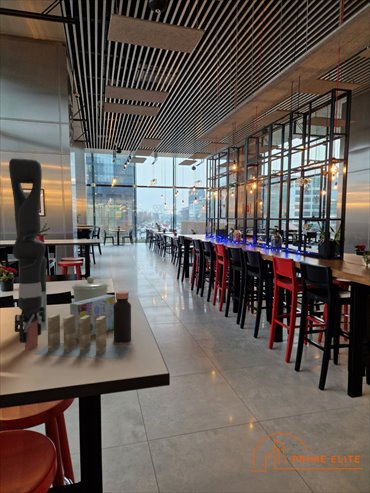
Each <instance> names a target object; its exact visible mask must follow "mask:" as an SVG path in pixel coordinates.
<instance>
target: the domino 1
mask: <svg viewBox="0 0 370 493" xmlns="http://www.w3.org/2000/svg"><path fill="white" fill-rule="evenodd" d="M24 323H25V322H24ZM24 327H25V326H23V328H24ZM26 332H27V342H26V343H24V350H25V351H30V350H32V349H34V348H36V347H38V346H39V340H38V338H39V335H38V328H37V319H36V321H35V322H32V323H31V324H30V326H29V327H28V328H27V331H26Z"/></svg>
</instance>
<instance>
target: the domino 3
mask: <svg viewBox="0 0 370 493" xmlns="http://www.w3.org/2000/svg"><path fill="white" fill-rule="evenodd" d="M62 321H63V324H62V326H63V343H64V352H69V351H71V350H72V349H73V348H75V344H76V338H75V315H70V314H69V315H67V316H65V317H64V318H63V320H62Z"/></svg>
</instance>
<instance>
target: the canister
mask: <svg viewBox="0 0 370 493" xmlns="http://www.w3.org/2000/svg"><path fill="white" fill-rule="evenodd" d="M109 286H110V285H109V284H108V283H106V282H104V281H97V280H95V278H94V276H88V277H87V278H86V281H82V282H77V283H75V284H74V285H72V286H71V289H72V292H73V297H74V298H73V299H74V302H79V301H83V300H87V299H91V298H96V297H100V296H104V295H108V287H109Z"/></svg>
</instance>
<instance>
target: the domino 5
mask: <svg viewBox="0 0 370 493" xmlns="http://www.w3.org/2000/svg"><path fill="white" fill-rule="evenodd" d="M95 345H96V354H101V353H102V352H103V351H104V350H106V345H107V331H106V316H101V317H99V318H97V319H96V333H95Z"/></svg>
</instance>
